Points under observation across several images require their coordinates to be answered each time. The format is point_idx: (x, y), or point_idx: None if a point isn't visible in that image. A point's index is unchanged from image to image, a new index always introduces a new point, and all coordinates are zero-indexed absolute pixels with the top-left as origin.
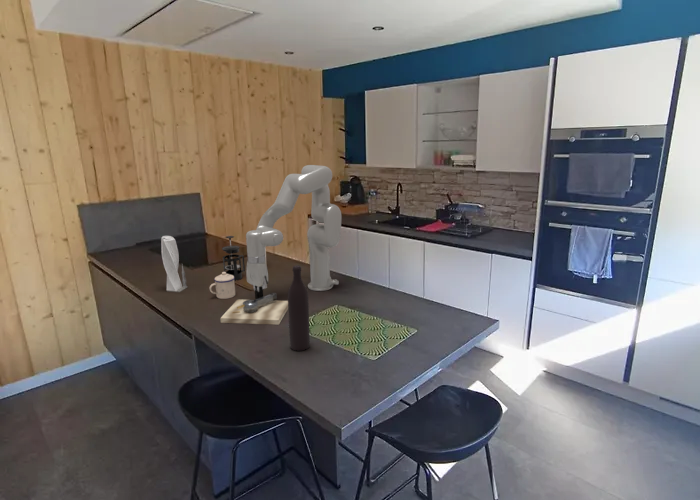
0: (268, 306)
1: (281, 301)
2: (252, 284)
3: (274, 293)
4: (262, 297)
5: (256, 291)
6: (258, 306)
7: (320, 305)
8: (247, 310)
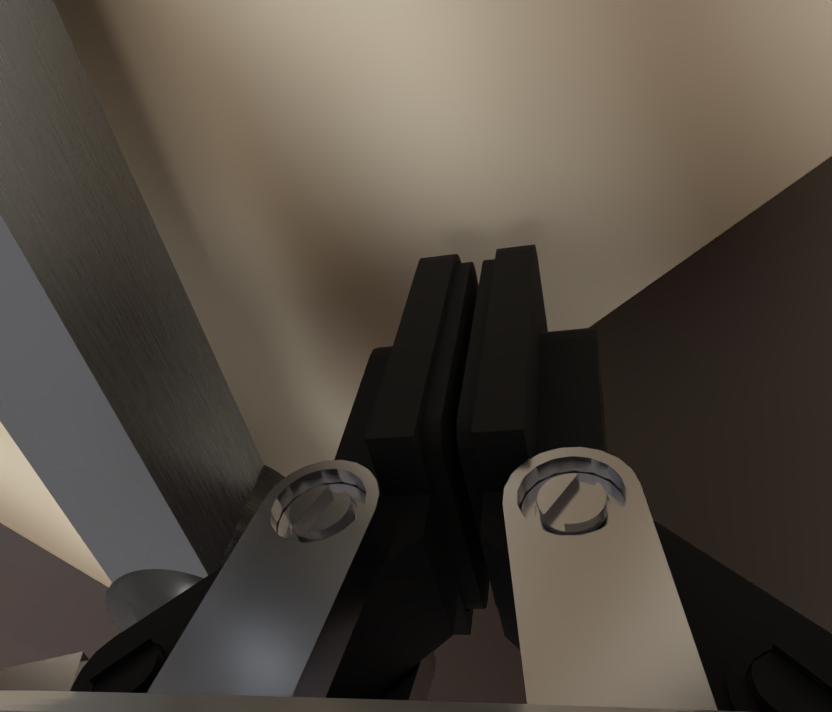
0: None
1: None
2: (496, 706)
3: None
4: (41, 347)
5: (400, 437)
6: (170, 96)
7: None
8: None
